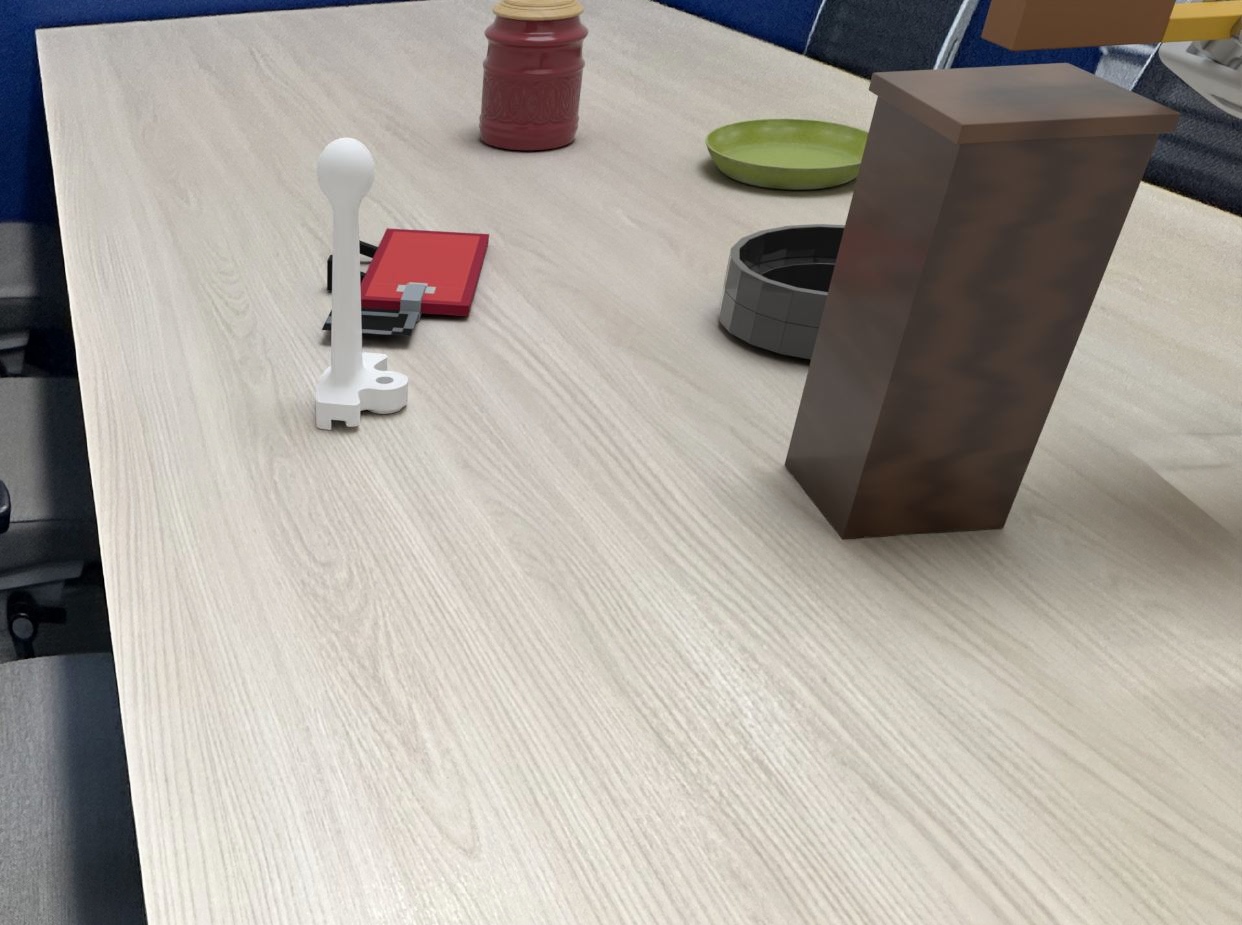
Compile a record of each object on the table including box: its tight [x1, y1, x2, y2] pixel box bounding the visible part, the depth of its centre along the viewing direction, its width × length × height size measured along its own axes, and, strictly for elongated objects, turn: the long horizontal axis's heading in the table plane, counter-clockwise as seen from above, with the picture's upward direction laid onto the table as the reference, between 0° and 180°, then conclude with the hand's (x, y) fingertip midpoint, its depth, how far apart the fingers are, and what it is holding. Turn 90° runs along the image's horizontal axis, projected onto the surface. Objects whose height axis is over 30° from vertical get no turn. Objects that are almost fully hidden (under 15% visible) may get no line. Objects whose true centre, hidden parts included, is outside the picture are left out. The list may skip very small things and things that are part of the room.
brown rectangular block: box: [981, 0, 1242, 52], centre depth 74 cm, size 17×4×3 cm, turn 95°
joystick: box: [315, 137, 409, 431], centre depth 102 cm, size 11×8×20 cm
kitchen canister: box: [478, 0, 590, 151], centre depth 160 cm, size 13×13×18 cm
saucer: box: [705, 118, 869, 191], centre depth 152 cm, size 21×21×3 cm
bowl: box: [718, 223, 845, 360], centre depth 117 cm, size 20×20×6 cm
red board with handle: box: [321, 227, 490, 337], centre depth 127 cm, size 30×3×15 cm
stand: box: [784, 62, 1182, 540], centre depth 86 cm, size 13×13×26 cm
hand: (1219, 10), depth 75 cm, fingers closed on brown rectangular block, 4 cm apart
